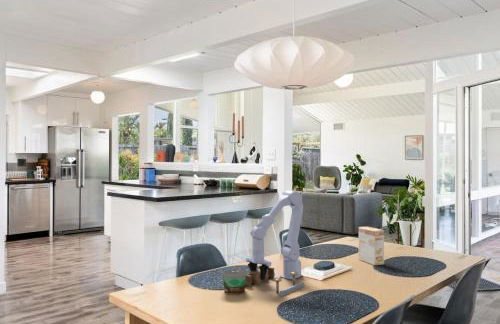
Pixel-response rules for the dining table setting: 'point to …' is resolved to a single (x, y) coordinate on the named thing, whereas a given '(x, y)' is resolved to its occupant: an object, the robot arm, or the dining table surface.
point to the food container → (234, 281)
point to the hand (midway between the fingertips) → (258, 278)
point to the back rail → (291, 288)
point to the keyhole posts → (281, 280)
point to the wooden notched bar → (258, 277)
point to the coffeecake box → (371, 245)
